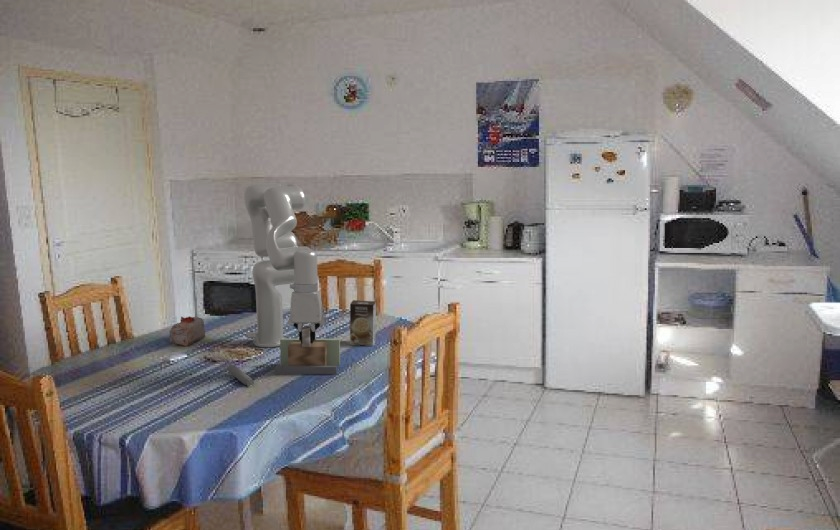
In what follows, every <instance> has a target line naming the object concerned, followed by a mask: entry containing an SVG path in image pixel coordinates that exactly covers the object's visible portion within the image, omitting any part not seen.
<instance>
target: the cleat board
mask: <svg viewBox="0 0 840 530" xmlns="http://www.w3.org/2000/svg"><path fill="white" fill-rule="evenodd" d="M286 338H287V337H286ZM286 338H281V339H280V346H279V347H280V350H279V352H280V353H279V354H280V364H278V365H275V366H274V371H275V372H274V373H275V375H337V374H338V366H341V341H340V338H315V340H314V342H327V364H326V366H318V365H288V346H289V344H290V343H291V342H301V340H299V338H287V339H286Z"/></svg>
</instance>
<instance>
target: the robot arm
mask: <svg viewBox="0 0 840 530" xmlns="http://www.w3.org/2000/svg"><path fill="white" fill-rule="evenodd" d="M243 197H244V198H243V199H244V201H243V202H244V205H245V208H246V211H247V213H248V216H249V219H250V221H251V232H252V233H251V234H252V242H253V249H254V252H255V254H256V256H257V257H261V258H268V260H267V259H266V260H262V261H258V262H257V263H255V264H254V265H253V268H252V278H253V282H254V289H255V301H256V302H255V304H256V305H255V306H256V329H257V330H256V331H254V332H252V331H246V333H245V337H246V338H247V339H253V343H252V344H253V345H254V346H256V347H259V348H277V347H280V339H281V338H286V339H288V338H287V337H285V336H284V319H283V318H284V314H283V297H282V295H281V293H280V291H279V290H278V289H277V287H276V286H281V285H282V286H283V285H289V289H291V290H293V292H292V293H291V297H290V307H289V308H290V311H289V312H290V314H289V317H288V319H287V324H288V325H290V326H292V327H294V328H295V329H296V330H297V331H298V339H299V340H301V344H302V328H303V327H304V324H310V326H311V332H310V343H311V344H313V342H314V340H315V339H316V331H317V329H319V327H321V326H324V325H326V324H327V320H326V318H325V316H324V314H323V313H324V312H323V303H322V297H321V292H320V291H319V289H318V288H319V285H318V284H319V281H318V254H317V252H316V251H315V250H313V249H311V248H310V247H308V246H298V241H297V237H296V235H295V233H294V232H292V231H293V230H294V229H295V227H297V224H298V219H297V218H296V215H295V212H294V211H299V210H302V209H303V208H304V207H305V206H306V195H305V193H304V190H303V189H302V188H301V187H300V186H298V185H295V184H293V183H289V182H276V183H274V182H272V183H268V182H266V183H265V182H264V183H263V182H262V183H253V184H250V185H248V186H247V187H246V188H245V189H244V193H243Z"/></svg>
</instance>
